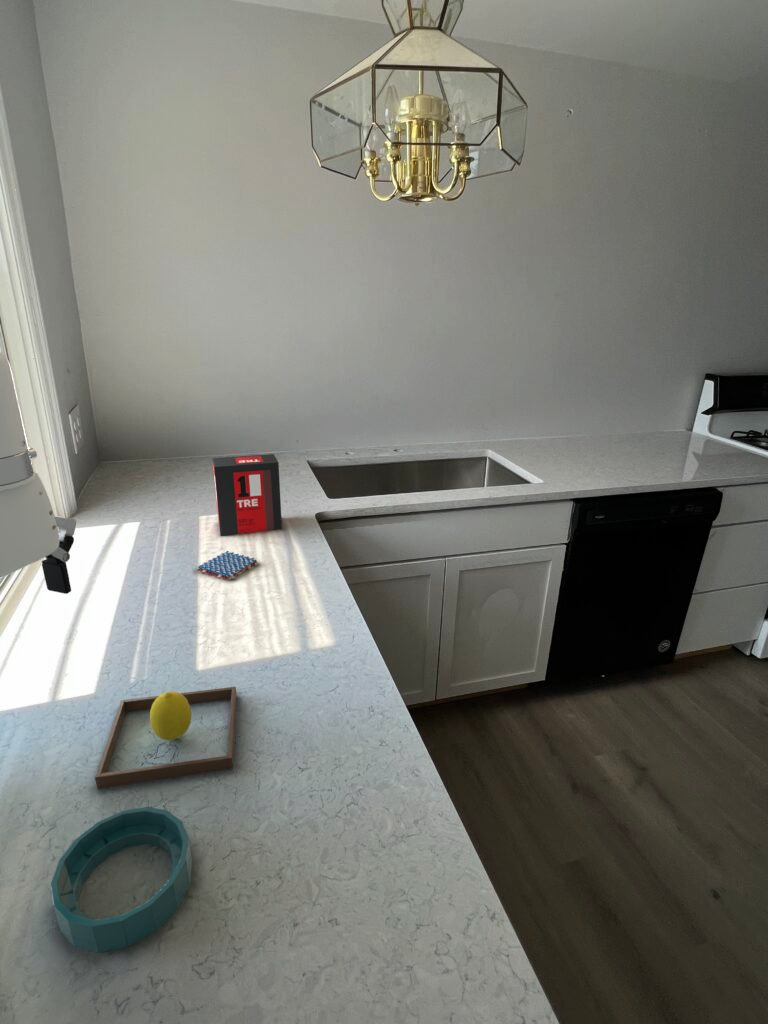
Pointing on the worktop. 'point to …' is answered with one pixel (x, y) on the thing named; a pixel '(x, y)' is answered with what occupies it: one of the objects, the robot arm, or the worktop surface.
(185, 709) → the lemon
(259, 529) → the cleaning product box
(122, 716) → the brown wooden frame
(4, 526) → the robot arm
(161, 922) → the teal ring
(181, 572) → the worktop surface
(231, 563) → the woven mat
